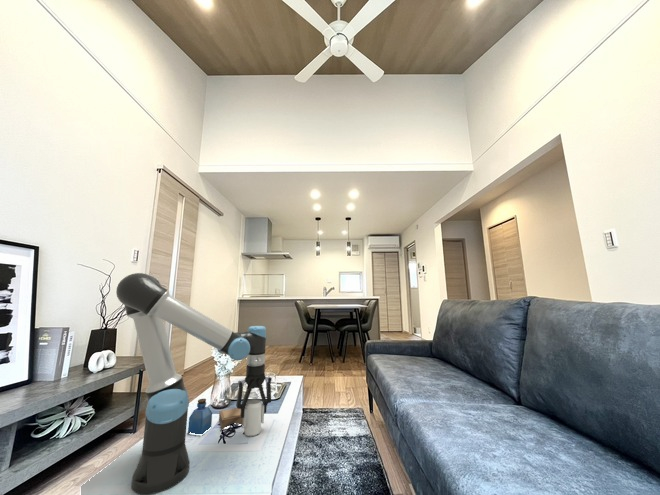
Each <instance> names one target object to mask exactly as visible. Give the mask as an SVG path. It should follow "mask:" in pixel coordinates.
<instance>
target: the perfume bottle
mask: <svg viewBox="0 0 660 495" xmlns="http://www.w3.org/2000/svg"><path fill="white" fill-rule="evenodd" d="M206 401H207V399H206V398H199V399H198V400H197V403H196V404H197V405H196V407H197V408H195V409H194V410H193V411H192V413H191V414H190V415H189V417H188V426H187V434H188V433H190V432H191V433H195V434H203V433H204V432H205V431H206V430H208V429H209V428H210V427H211V428H212V423H213V422H212V421H213V411H212V410H211V408H210V406H207V402H206Z"/></svg>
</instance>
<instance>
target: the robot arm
mask: <svg viewBox="0 0 660 495" xmlns="http://www.w3.org/2000/svg"><path fill="white" fill-rule="evenodd" d="M116 298H117V299H118V301H119V302H120V303H121V304H122V305H124V309H125V312H126V316H127V317H128V318H131V319H133V322H134V326H135V330H136V335H137V340H138V343H139V347H140V351H141V356H142V360H143V364H144V368H145V372H146V376H147V381H148V386H147V387H146V388H145V391H144V392H145V395H146V400H147V406H146V408H145V412H144V413H145V418H144V419H145V420H144V422H145V423H144V431H143V439H142V440H143V441H142V448H141V449H142V450H141V455H140V457H139V460H138V463H137V465H136V467H135V469H134V472H133V475H132V479H131V490H132V491H133V492H134V493H136V494H139V495H140V494H141V495H149V494H150V495H151V494H156V493H160V492H163V491H165V490H169V489H170V488H172V487H174V486H176V485H178V484H179V483H180V482H182V481H183V480H184V479H185V478H186V477H187V476H188V474H189V471H190V462H191V461H190V458H189V454H188V450H187V446H186V436H187V427H188V426H187V424H188V423H187V422H188V415H189V414H188V412H189V406H190V399H189V398H190V397H189V393H188V390H187V388H186V386H185V383H184V379H183V376H182V374H180V373H177V371H176V367H175V363H174V362H175V361H174V359H173V358H174V357H173V354H172V350H171V347H170V343H169V339H168V338H169V337H168V333H167V330H166V325H165V322H166V323H169V324H170V325H172V326H174V327H176V328H178V329H180V330H181V331H183V332H185V333H187V334H188V335H191V336H192V337H194V338H196V339H198V340H200V341H202V342H203V343H206V344H207V345H209V346H211V347H213V348H214V349H216V350H217V352H218V353H219V354H221V353H222V354H226V355H227V356H229V358H230V359H232V360H233V361H234V360H235V361H242V360H244V359H245V358H246V370H245V371H246V372H245V373H246V374H245V378H244V379H242V380H238V381H237V386H238V389H237V390H238V392H237V398H236V404H235V406H236V408H238V409H241V415H240V416H241V418H243V426H242V427H243V428H245V427H246V414H247V409H246V404H247V401H248V400H249V399H250V398H249V397H250V394H251V393H252V390H253V389H258V391H259V394H260V399H261V401H262V402H261V403H262V413H261V424H264V422H265V421H264V420H265V414H266V413H267V408H268V407H267V406H268V404H270V403H271V402H272V390H271V389H272V388H271V387H272V386H271V383H272V379H273V378H272V376H269V375H268V376H266V375H265V374H266V373H265V372H266V370H265V369H266V365H265V363H266V345H267V328H266V326H264V325H251V326H249V327H248V330H247V331H243V332H242V331H241V332H240V331H239V332H236V331H235V332H234V331H232V330H231V329H230V328H227V327H226V326H224V325H222V324H220V323H219V322H218V321H215V320H214V319H212V318H210V317H208V316H207V315H205V314H204V313H202V312H200V311H198V310H196V309H195V308H193V307H191V306H190V305H188V304H186V303H184V302H183V301H181V300H179V299H177V298H176V297H174V296H173V295H171V294H170V290H169V289H167V288H165V287H164V286H162V285H161V283H160V281H159V280H158V279H157V278H156V277H155V276H152V275H150V274H147V273H143V272H135V273H131V274H129V275H126V276H124V277H123V278H122V279H121V280H120V281H119V283H118V284H117V286H116ZM164 321H165V322H164ZM264 382H265V387H266V395H265V392H264V387H263V384H264ZM245 384H246V385H247V386H246V390H245V392H244V396H243V391H244V386H245ZM242 398H243V399H242Z"/></svg>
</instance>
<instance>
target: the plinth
mask: <svg viewBox="0 0 660 495" xmlns="http://www.w3.org/2000/svg"><path fill="white" fill-rule="evenodd" d="M240 415H241V409H238V408H237V407H233V408H229V409H223V410H220V411H219V415H218V422H220V423H219V426H221V427H220V429H223V428H224V427H227V426H229V425H230V424H232V423H239V424H242V425H243V418H241V416H240Z"/></svg>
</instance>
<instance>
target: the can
mask: <svg viewBox="0 0 660 495" xmlns="http://www.w3.org/2000/svg"><path fill="white" fill-rule="evenodd" d="M261 401H262V398H256V397H255V398H248V401H247V404H246V406H245V407H246V409H247V414H246V427H244V432H243V433H244V435H245V436H247V437H255V435H256V436H258V435H260V433H261V430H262V423H261V413H262V404H263V402H261ZM257 434H258V435H257Z"/></svg>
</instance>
